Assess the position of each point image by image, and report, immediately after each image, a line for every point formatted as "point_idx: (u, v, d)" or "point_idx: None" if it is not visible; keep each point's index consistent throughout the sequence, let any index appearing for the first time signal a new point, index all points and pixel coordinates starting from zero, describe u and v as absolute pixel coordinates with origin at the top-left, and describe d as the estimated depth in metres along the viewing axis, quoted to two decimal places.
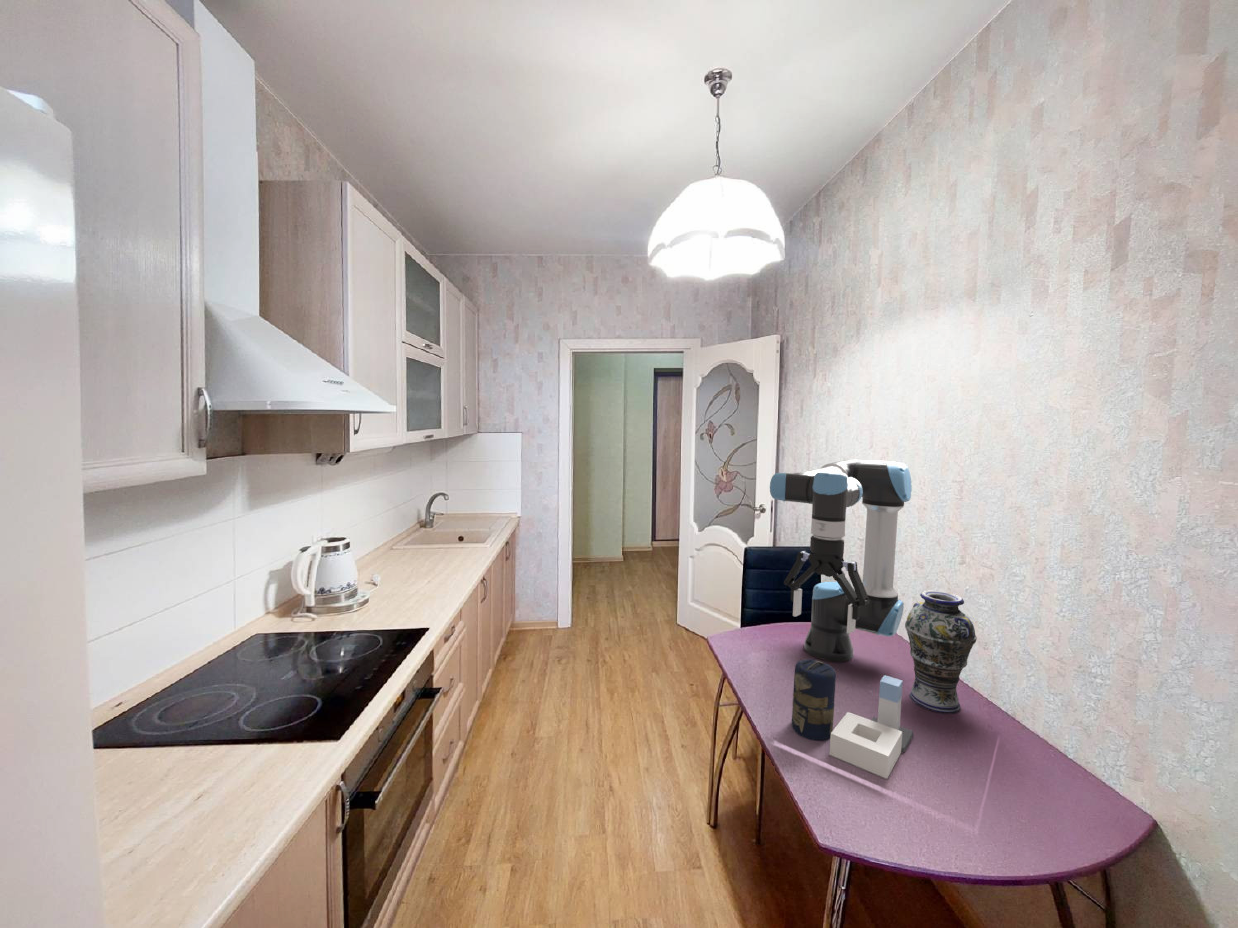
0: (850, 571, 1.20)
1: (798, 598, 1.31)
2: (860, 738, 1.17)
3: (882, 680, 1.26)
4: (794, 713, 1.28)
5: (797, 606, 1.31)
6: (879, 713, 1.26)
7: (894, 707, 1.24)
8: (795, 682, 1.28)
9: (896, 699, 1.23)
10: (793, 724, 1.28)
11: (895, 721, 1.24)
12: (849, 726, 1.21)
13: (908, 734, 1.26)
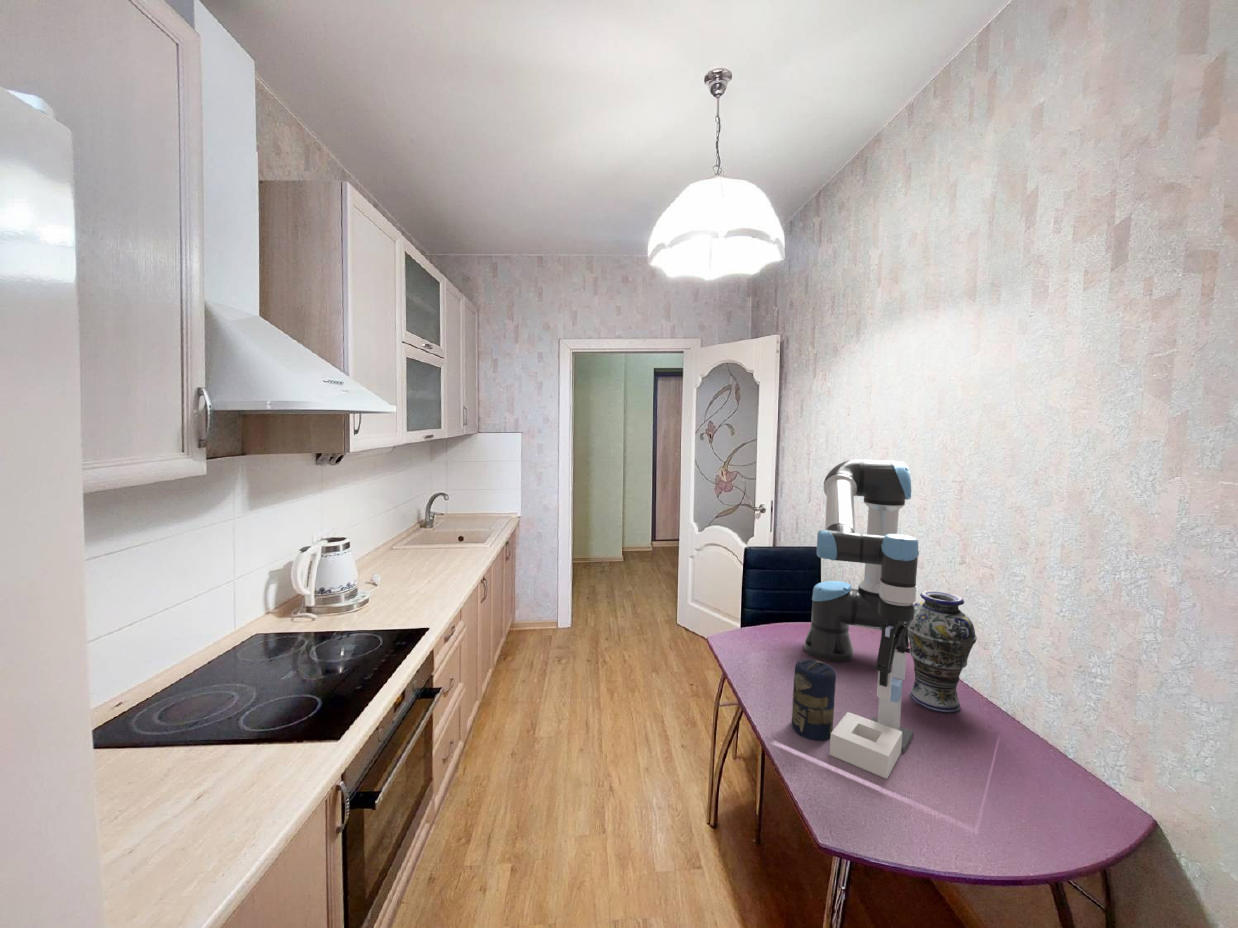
0: None
1: (896, 660, 1.30)
2: (860, 738, 1.17)
3: None
4: (794, 713, 1.28)
5: (895, 667, 1.30)
6: (879, 713, 1.26)
7: (894, 707, 1.24)
8: (795, 682, 1.28)
9: (896, 699, 1.23)
10: (793, 724, 1.28)
11: (895, 721, 1.24)
12: (849, 726, 1.21)
13: (908, 734, 1.26)
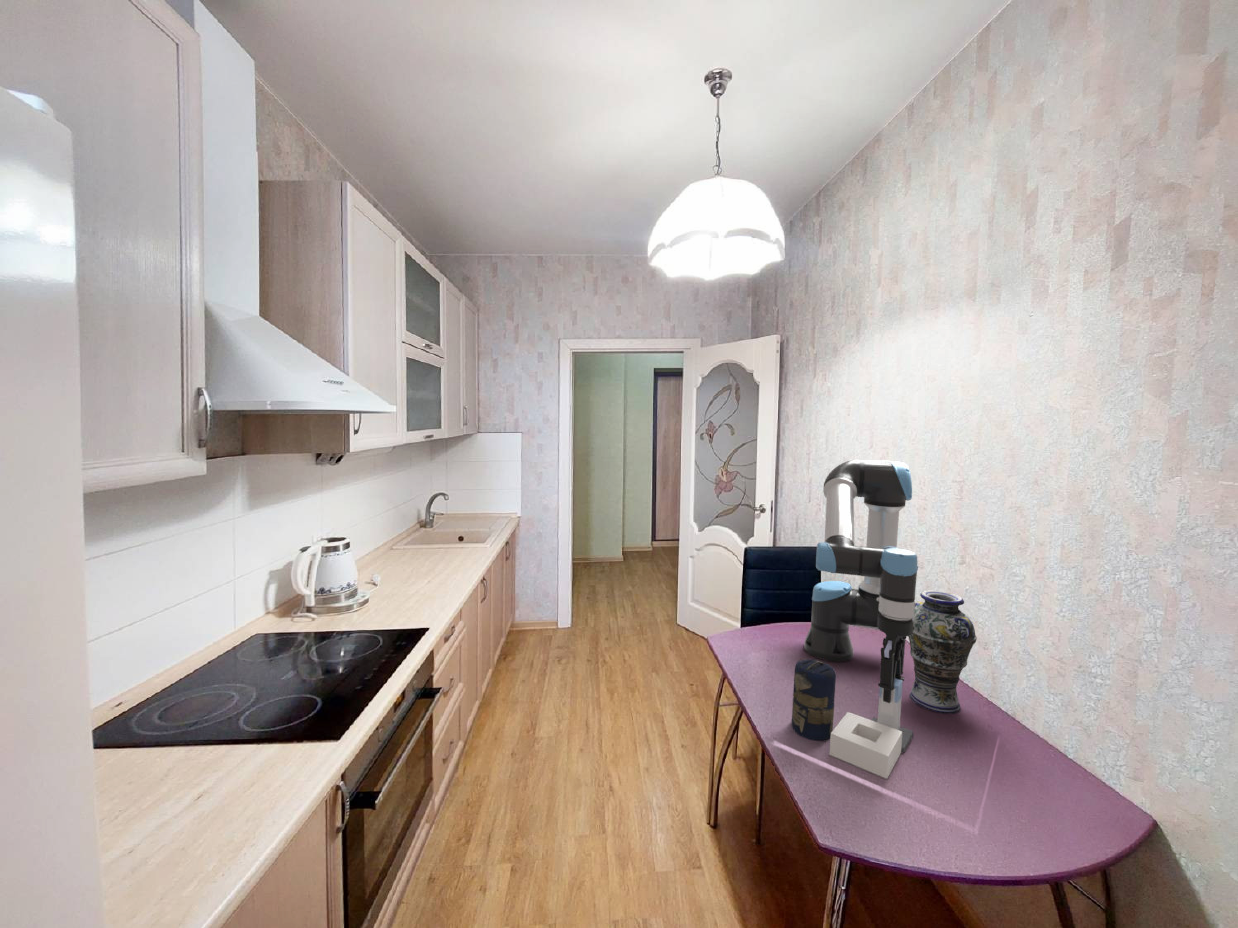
0: None
1: None
2: (860, 738, 1.17)
3: None
4: (794, 713, 1.28)
5: None
6: (879, 713, 1.26)
7: (894, 707, 1.24)
8: (795, 682, 1.28)
9: (896, 699, 1.23)
10: (793, 724, 1.28)
11: (895, 721, 1.24)
12: (849, 726, 1.21)
13: (908, 734, 1.26)
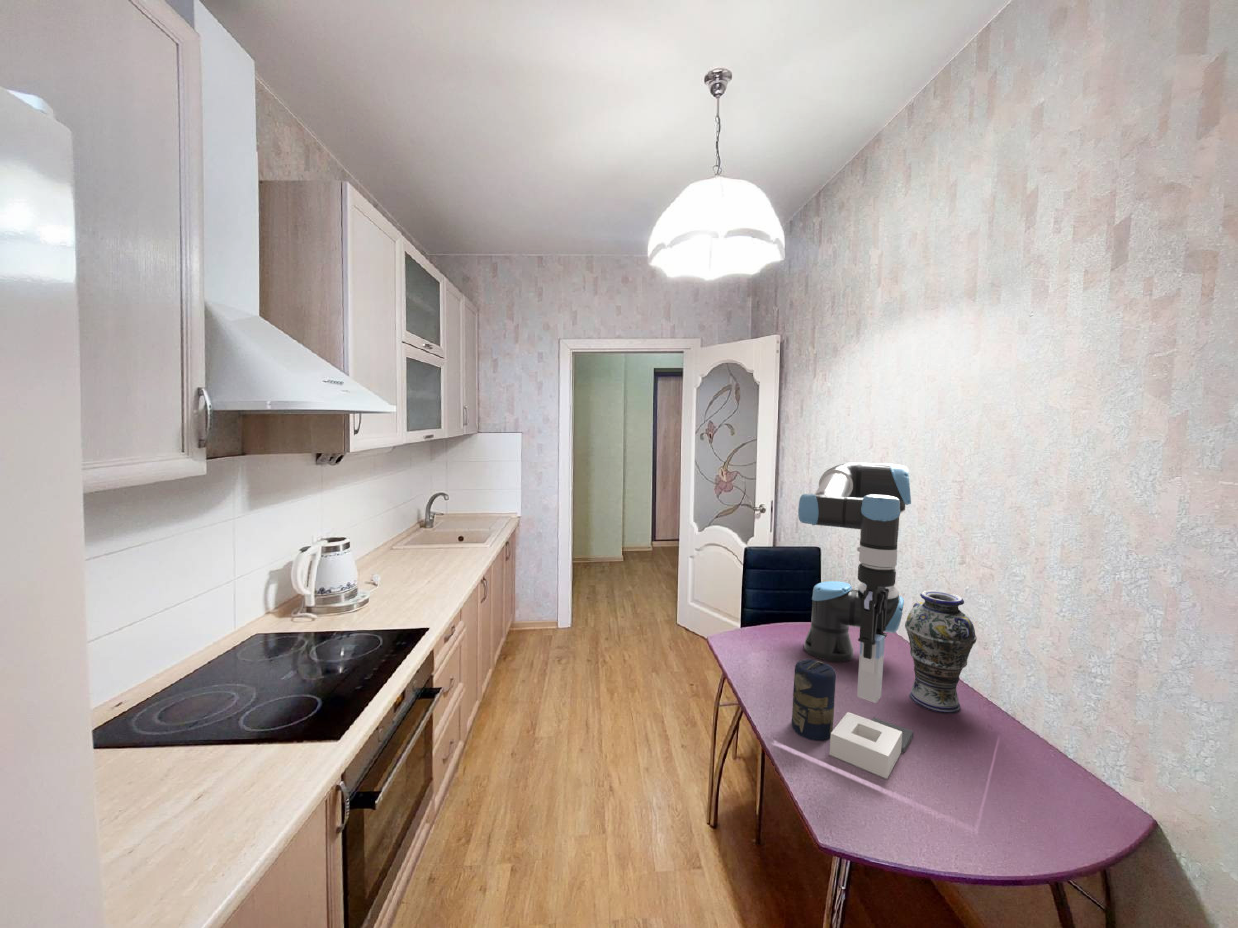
0: None
1: None
2: (860, 738, 1.17)
3: None
4: (794, 713, 1.28)
5: None
6: (860, 671, 1.17)
7: (875, 663, 1.15)
8: (795, 682, 1.28)
9: (877, 655, 1.15)
10: (793, 724, 1.28)
11: (876, 679, 1.15)
12: (849, 726, 1.21)
13: (908, 734, 1.26)
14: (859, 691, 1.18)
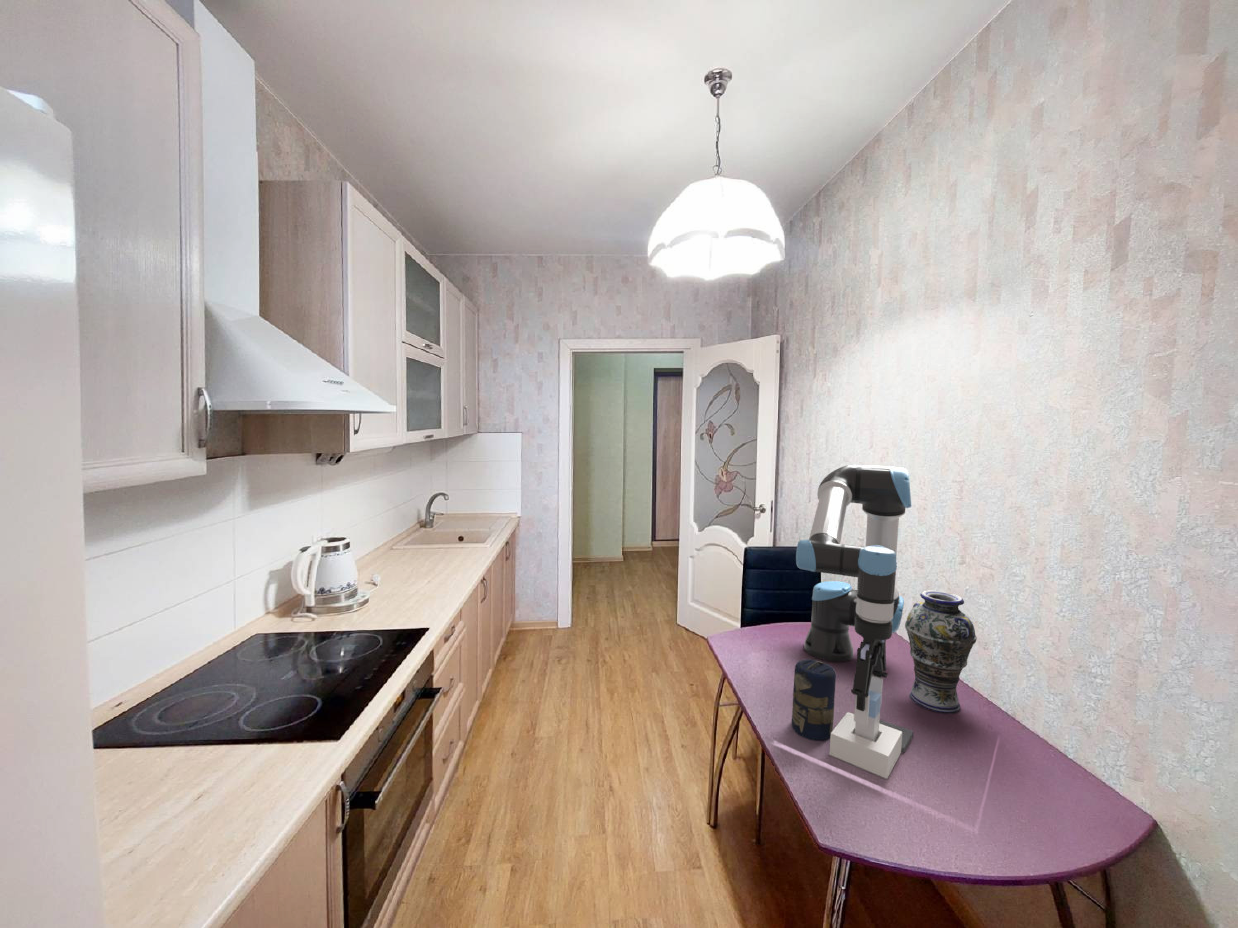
0: None
1: (873, 685, 1.22)
2: (860, 738, 1.17)
3: None
4: (794, 713, 1.28)
5: None
6: (856, 729, 1.19)
7: (871, 722, 1.16)
8: (795, 682, 1.28)
9: (874, 714, 1.16)
10: (793, 724, 1.28)
11: (873, 737, 1.17)
12: (849, 726, 1.21)
13: (908, 734, 1.26)
14: None
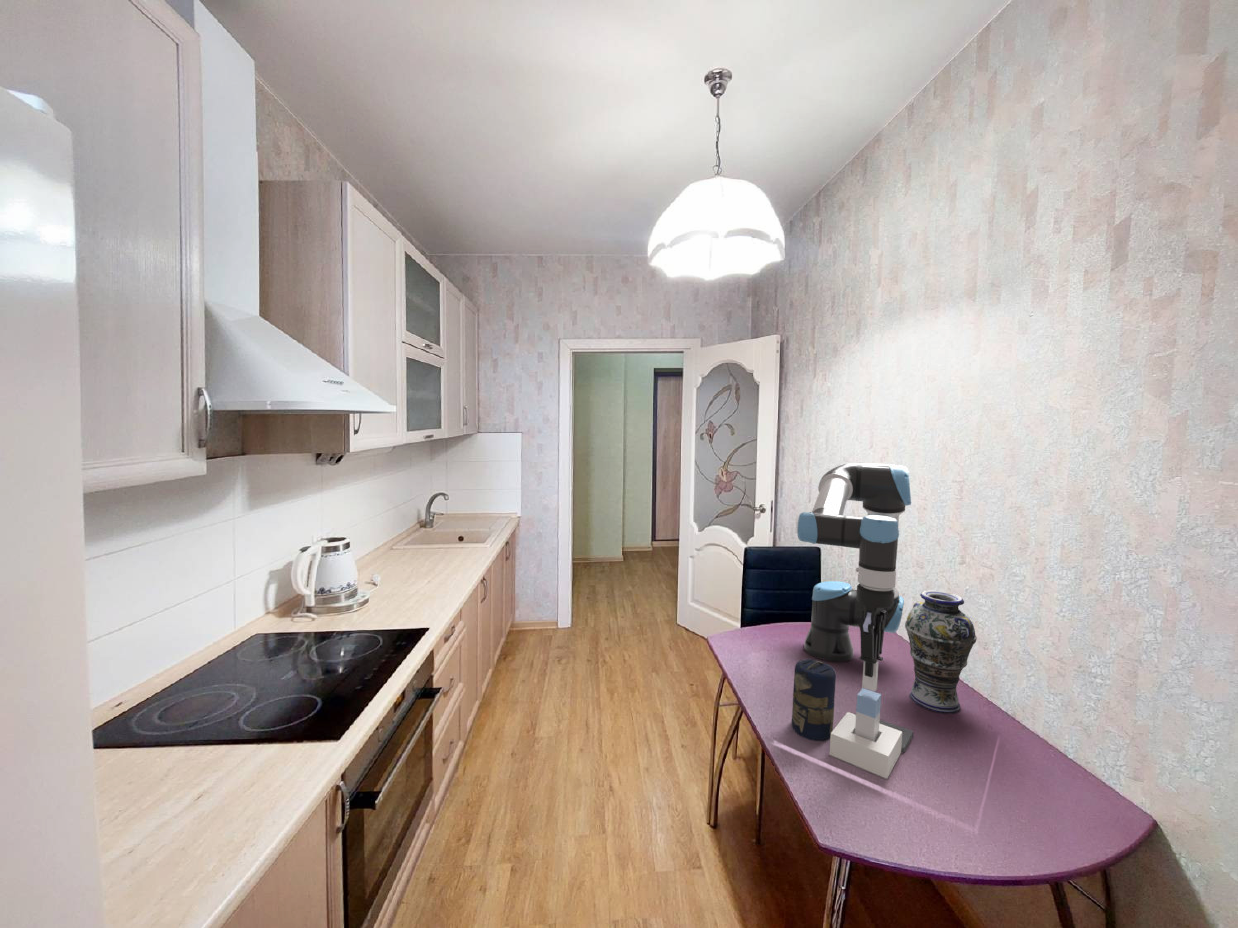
0: None
1: None
2: (860, 738, 1.17)
3: (860, 693, 1.19)
4: (794, 713, 1.28)
5: None
6: (856, 729, 1.19)
7: (871, 722, 1.17)
8: (795, 682, 1.28)
9: (874, 714, 1.16)
10: (793, 725, 1.28)
11: (873, 737, 1.17)
12: (849, 726, 1.21)
13: (908, 734, 1.26)
14: None
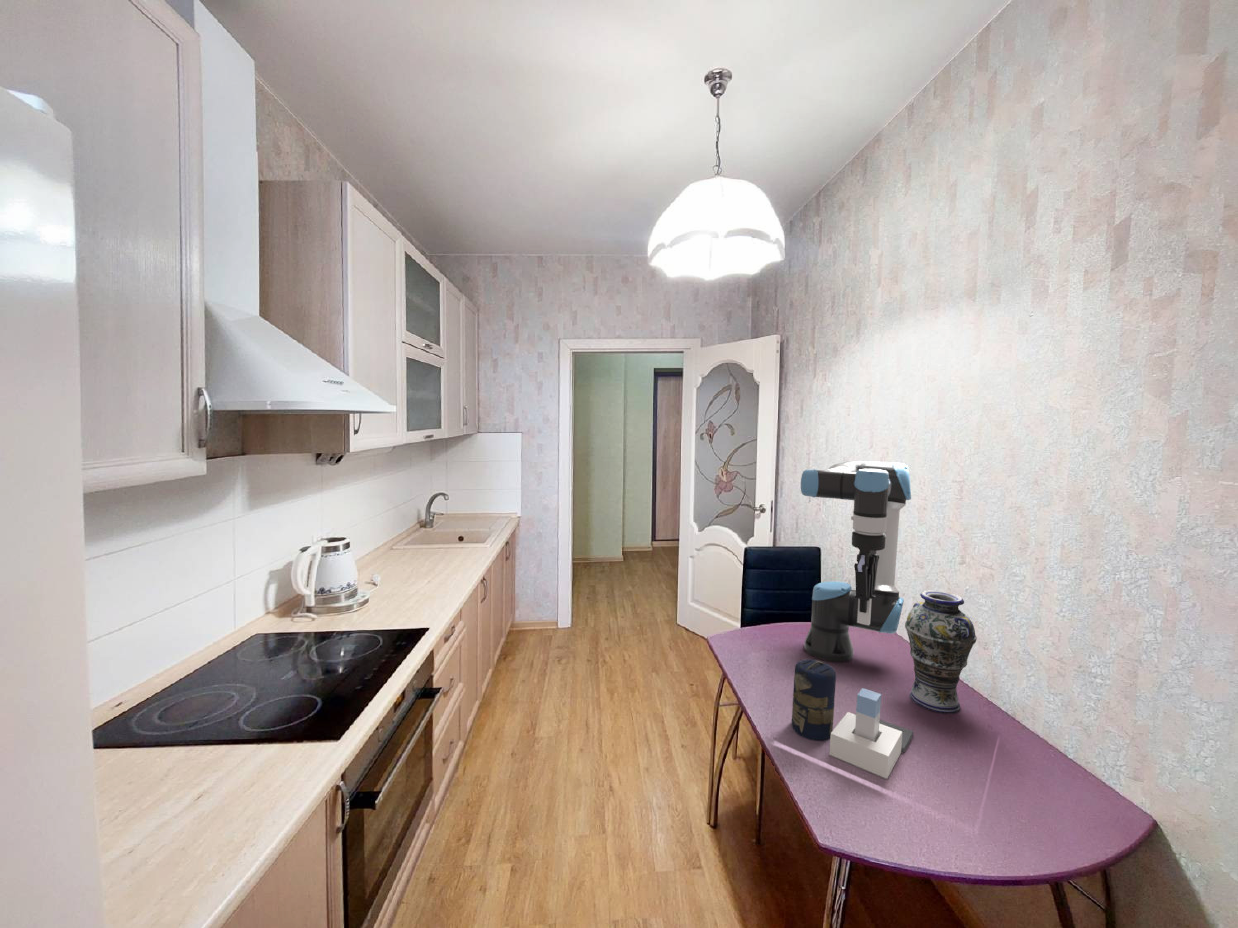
0: None
1: None
2: (860, 738, 1.17)
3: (860, 693, 1.19)
4: (794, 713, 1.28)
5: None
6: (856, 729, 1.19)
7: (871, 722, 1.17)
8: (795, 682, 1.28)
9: (874, 714, 1.16)
10: (793, 724, 1.28)
11: (873, 737, 1.17)
12: (849, 726, 1.21)
13: (908, 734, 1.26)
14: None
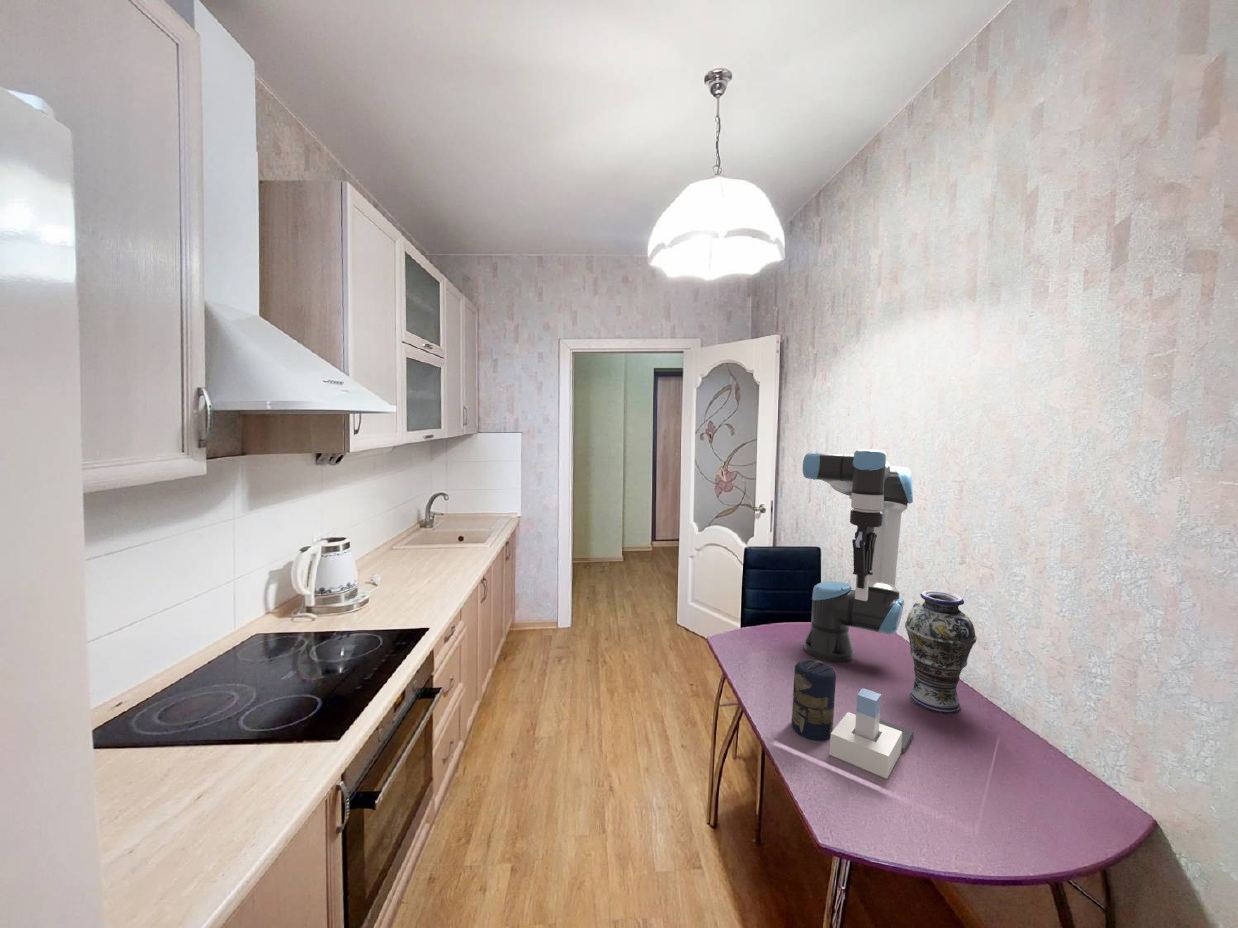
0: None
1: None
2: (860, 738, 1.17)
3: (860, 693, 1.19)
4: (794, 713, 1.28)
5: None
6: (856, 729, 1.19)
7: (871, 722, 1.17)
8: (795, 682, 1.28)
9: (874, 714, 1.16)
10: (793, 724, 1.28)
11: (873, 737, 1.17)
12: (849, 726, 1.21)
13: (908, 734, 1.26)
14: None
